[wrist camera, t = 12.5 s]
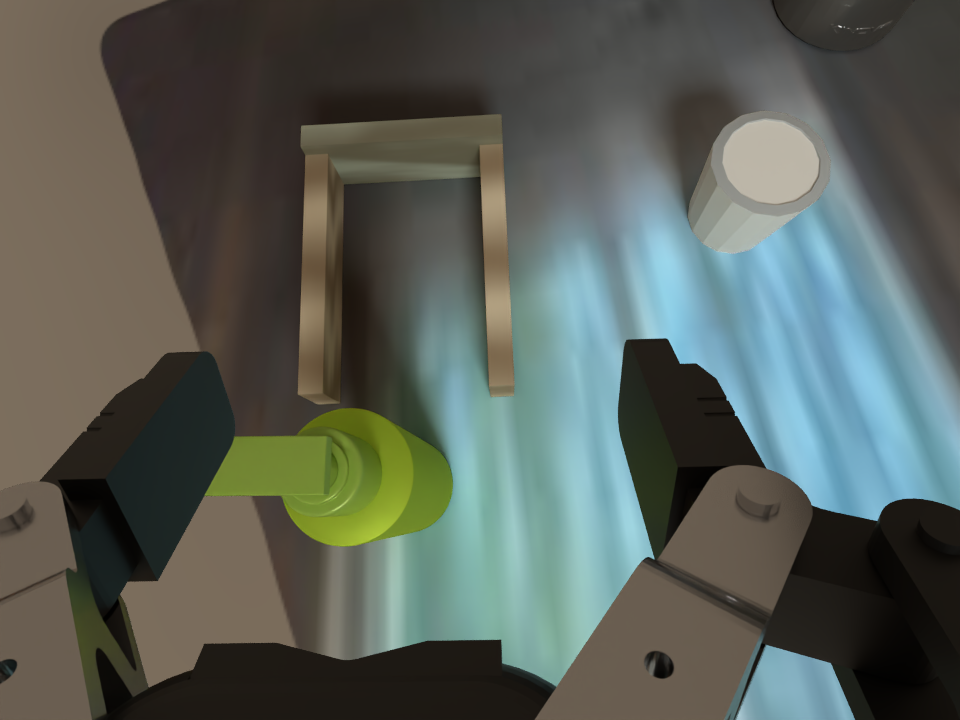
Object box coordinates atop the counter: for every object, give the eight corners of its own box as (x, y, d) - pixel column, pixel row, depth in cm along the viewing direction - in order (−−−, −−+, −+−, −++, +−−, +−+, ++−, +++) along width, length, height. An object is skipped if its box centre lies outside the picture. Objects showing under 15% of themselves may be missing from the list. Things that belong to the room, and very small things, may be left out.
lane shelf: (323, 166, 44) (301, 125, 39) (501, 156, 44) (501, 114, 39) (318, 404, 40) (292, 391, 35) (513, 396, 40) (514, 381, 35)
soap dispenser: (348, 440, 40) (173, 378, 20) (452, 438, 39) (374, 373, 20) (344, 533, 38) (152, 561, 19) (452, 532, 38) (368, 561, 18)
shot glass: (791, 189, 42) (845, 129, 35) (763, 276, 41) (814, 231, 34) (695, 158, 43) (731, 94, 36) (665, 242, 42) (696, 192, 35)
